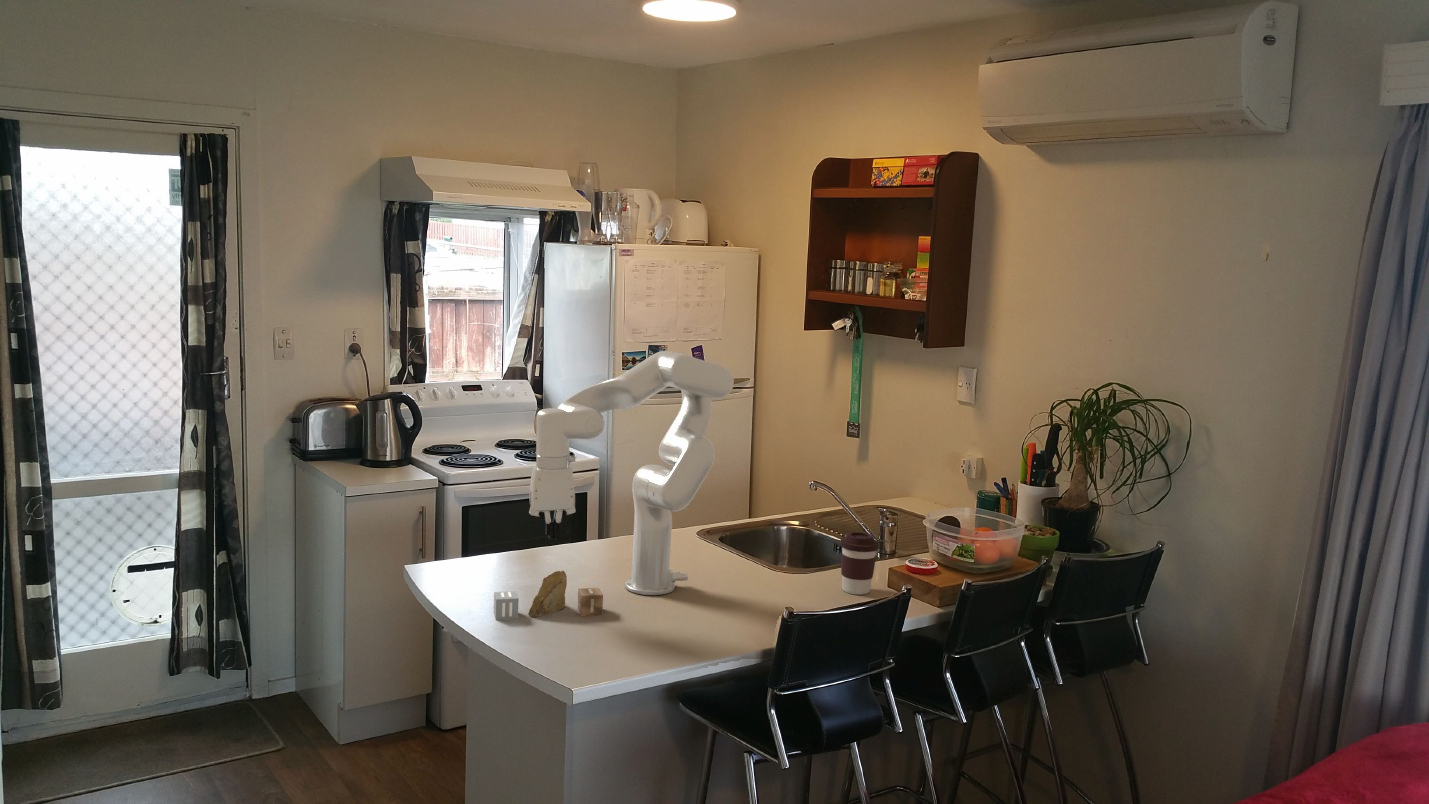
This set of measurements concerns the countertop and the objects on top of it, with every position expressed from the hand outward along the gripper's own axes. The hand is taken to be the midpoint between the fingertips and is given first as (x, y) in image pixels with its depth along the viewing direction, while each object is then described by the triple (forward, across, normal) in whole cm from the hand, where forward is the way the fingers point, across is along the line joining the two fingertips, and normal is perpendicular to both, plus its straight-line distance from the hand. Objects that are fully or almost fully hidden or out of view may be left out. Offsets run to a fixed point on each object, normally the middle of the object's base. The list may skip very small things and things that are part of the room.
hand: (552, 538), depth 243 cm
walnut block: (+17, -8, +5) cm, 20 cm away
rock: (+17, +2, +3) cm, 17 cm away
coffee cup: (+19, -79, +1) cm, 82 cm away
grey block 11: (+16, +11, +5) cm, 21 cm away
